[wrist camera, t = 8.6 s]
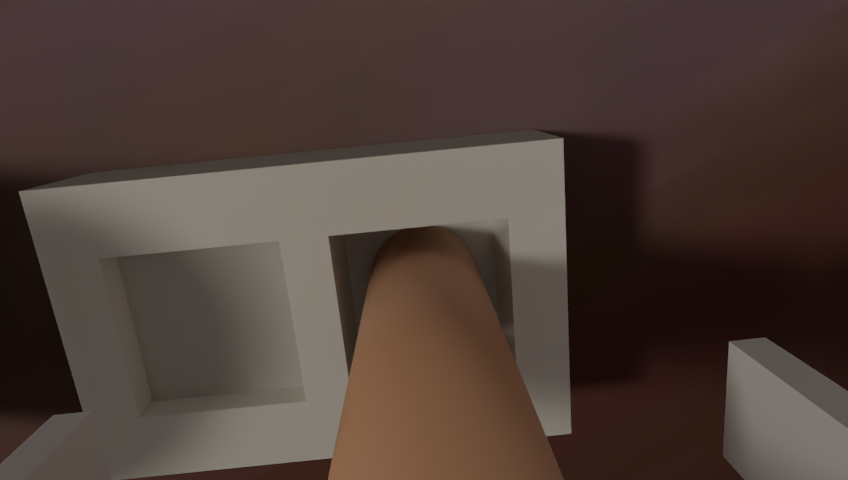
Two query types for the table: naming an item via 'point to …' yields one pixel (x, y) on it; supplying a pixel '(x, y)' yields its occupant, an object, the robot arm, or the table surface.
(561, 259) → the bore block
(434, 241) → the pin
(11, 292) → the table surface
